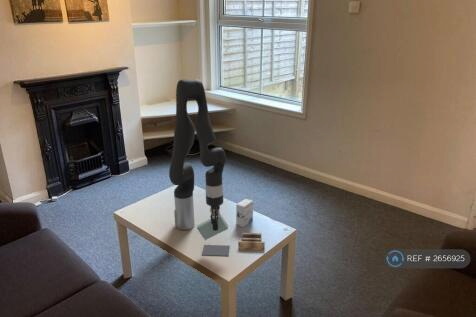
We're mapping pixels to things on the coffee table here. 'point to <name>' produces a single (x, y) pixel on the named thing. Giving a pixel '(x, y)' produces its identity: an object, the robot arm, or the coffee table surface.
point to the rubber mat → (216, 250)
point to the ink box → (244, 212)
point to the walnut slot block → (251, 237)
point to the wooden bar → (251, 245)
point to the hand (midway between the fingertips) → (215, 228)
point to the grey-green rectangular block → (207, 228)
